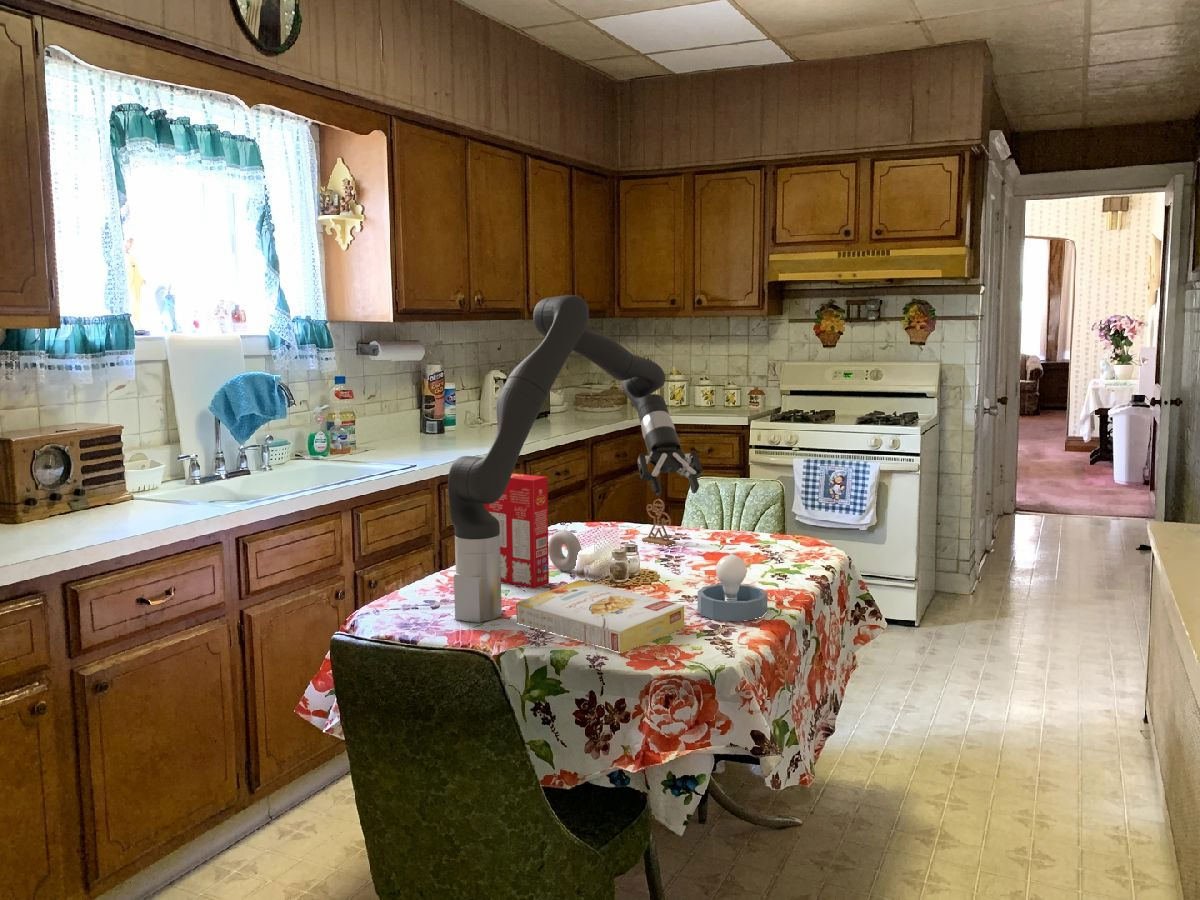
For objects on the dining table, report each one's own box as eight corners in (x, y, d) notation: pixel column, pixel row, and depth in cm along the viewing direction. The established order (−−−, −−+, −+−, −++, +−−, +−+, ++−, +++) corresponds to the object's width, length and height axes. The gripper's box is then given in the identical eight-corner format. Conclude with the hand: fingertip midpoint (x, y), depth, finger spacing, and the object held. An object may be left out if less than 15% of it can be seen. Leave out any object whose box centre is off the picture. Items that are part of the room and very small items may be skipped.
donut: (584, 572, 242) (584, 532, 241) (575, 575, 240) (574, 534, 238) (555, 565, 249) (554, 526, 247) (545, 568, 246) (544, 528, 245)
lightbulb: (722, 612, 207) (723, 560, 206) (711, 603, 213) (711, 552, 212) (751, 609, 209) (751, 557, 207) (738, 601, 215) (739, 550, 213)
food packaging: (548, 583, 233) (547, 476, 230) (535, 588, 229) (533, 480, 225) (499, 574, 241) (497, 471, 238) (485, 579, 237) (482, 474, 233)
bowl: (755, 625, 202) (755, 606, 201) (689, 616, 208) (689, 597, 207) (773, 606, 214) (774, 588, 214) (711, 598, 220) (711, 580, 220)
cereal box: (579, 577, 218) (686, 601, 200) (580, 602, 219) (687, 628, 201) (513, 601, 203) (623, 628, 185) (514, 627, 204) (623, 657, 186)
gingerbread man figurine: (676, 544, 271) (676, 500, 269) (667, 546, 268) (667, 502, 266) (650, 539, 277) (650, 496, 275) (641, 541, 274) (641, 498, 272)
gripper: (634, 426, 228) (651, 484, 219) (693, 423, 233) (712, 480, 223) (627, 446, 234) (643, 503, 225) (684, 443, 238) (702, 500, 229)
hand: (677, 492), depth 224 cm, fingers open, 8 cm apart
